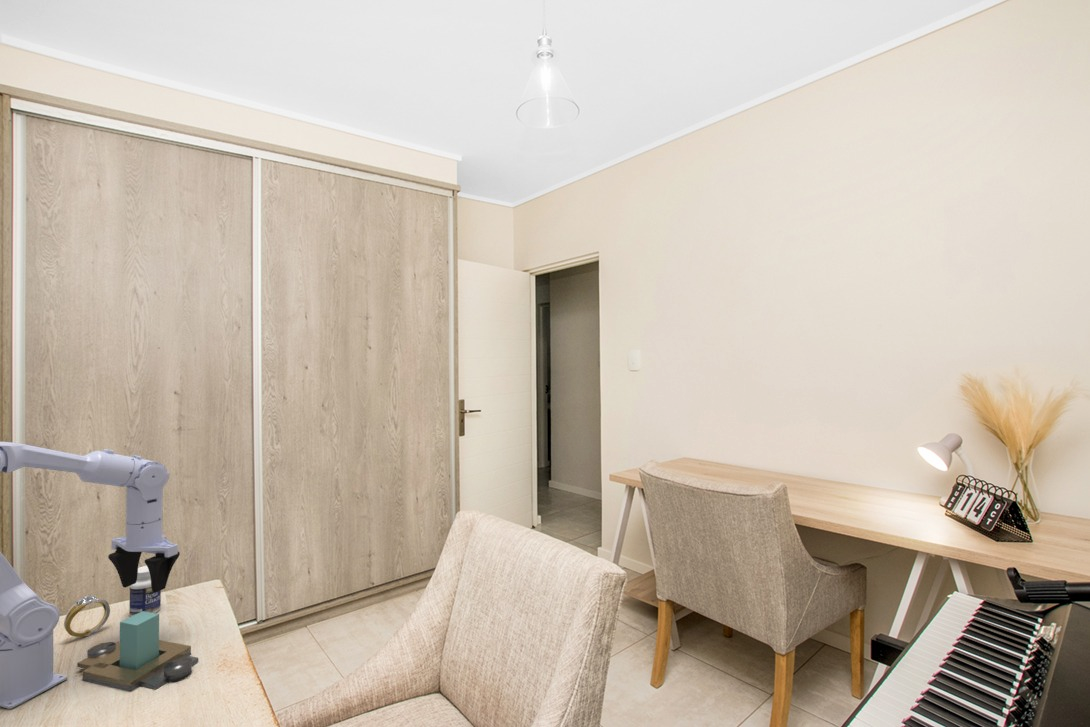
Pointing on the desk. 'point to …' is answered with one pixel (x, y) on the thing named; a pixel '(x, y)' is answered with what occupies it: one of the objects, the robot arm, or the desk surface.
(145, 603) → the pill bottle
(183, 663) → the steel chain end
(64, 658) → the desk surface
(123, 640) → the teal pin
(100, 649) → the tan slotted board
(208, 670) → the desk surface
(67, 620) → the ring
